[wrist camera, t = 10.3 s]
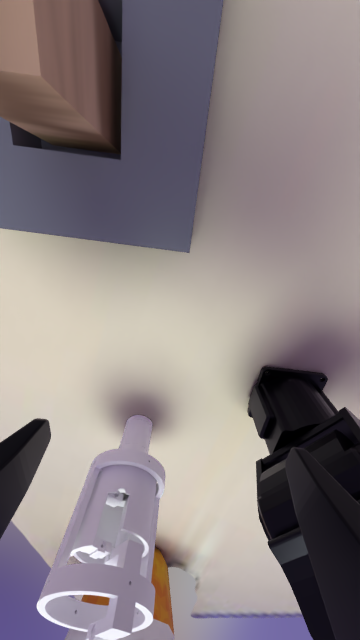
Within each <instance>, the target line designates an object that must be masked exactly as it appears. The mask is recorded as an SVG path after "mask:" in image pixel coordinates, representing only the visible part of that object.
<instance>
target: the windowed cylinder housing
mask: <svg viewBox="0 0 360 640" xmlns="http://www.w3.org/2000/svg"><path fill="white" fill-rule="evenodd" d="M152 427H153V424H152V422H151V420H150V419H149V418H147V417H145V416H142V415H134V416H131V417H130V418H129V419H128V420H127V423H126V426H125V430H124V433H123V437H122V440H121V443H120V446H119V449H113V450H109V451H106V452H103V453H101V454H100V455H98V456H97V457H96V458H95V459H94V460H93V462H92V464H91V467H90V470H89V472H88V475H87V478H86V481H85V484H84V486H83V489H82V491H81V494H80V497H79V499H78V502H77V504H76V507H75V509H74V512H73V515H72V517H71V520H70V522H69V525H68V527H67V530H66V533H65V535H64V538H63V540H62V543H61V546H60V548H59V551H58V553H57V556H56V558H55V561H54V564H53V566H52V569H51V571H50V574H49V575H48V578H47V580H46V583H45V585H44V588H43V590H42V593H41V595H40V598H39V600H38V603H37V610H38V611H39V613H40V614H41V615H42V616H43V617H45V618H46V619H48V620H50V621H52V622H54V623H56V624H58V625H61V626H64V627H67V628H70V629H74V630H79V631H84V632H87V636H86V640H116V639H119V638H123V637H125V636H128V635H130V634H132V632H135V631H139V630H142V629H144V628H146V627H148V626H149V625H150V624H151V623H152V621H153V614H154V602H155V587H154V586H153V584H152V583H151V579H152V569H153V559H154V549H155V539H156V529H157V519H158V509H159V499H160V498H161V496H162V495H163V493H164V486H165V470H164V468H163V466H162V465H161V464H160V462H159V461H158V460H156V459H155V458H154V457H152V456H150V455H149V454H148V450H149V444H150V438H151V432H152ZM157 482H158V483H157ZM156 483H157V484H156ZM70 556H74V557H75V558H76V559H77V560H79V561H80V562H82V563H78V564H70V565H67V563H68V560H69V557H70ZM67 595H96V596H103V597H109V598H110V600H109V605H108V606H105V605H96V604H90V603H86V602H82V601H79V600H76V599H73V598H71V597H69V596H67Z"/></svg>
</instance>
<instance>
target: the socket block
mask: <svg viewBox="0 0 360 640" xmlns="http://www.w3.org/2000/svg"><path fill="white" fill-rule="evenodd" d="M98 1H99V4H100V6H101V8H102V11H103V13H104V16H105V18H106V21H107V23H108V25H109V28H110V30H111V33H112V35H113V38H114V40H115V43H116V45H117V47H118V50H119V52H120V55H121V57H122V103H121V155H120V154H113V153H105V152H98V151H91V150H83V149H76V148H68V147H61V146H54V145H52V144H50V143H48V142H46V141H44V140H42V139H41V138H39V137H37V136H35V135H33V134H31V133H30V132H28V131H26V130H24V129H22V128H20V127H18V126H17V125H15V124H13V123H11V122H9V121H7V120H5V119H4V118H2V117H0V228H3V229H11V230H19V231H26V232H34V233H42V234H49V235H57V236H65V237H72V238H80V239H88V240H95V241H103V242H110V243H118V244H126V245H133V246H141V247H149V248H156V249H164V250H172V251H179V252H187V253H189V252H190V244H191V237H192V230H193V222H194V215H195V207H196V200H197V192H198V185H199V178H200V170H201V163H202V155H203V148H204V141H205V133H206V126H207V118H208V111H209V103H210V96H211V89H212V81H213V74H214V66H215V59H216V52H217V44H218V37H219V29H220V22H221V14H222V7H223V0H98Z"/></svg>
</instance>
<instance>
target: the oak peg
mask: <svg viewBox="0 0 360 640" xmlns="http://www.w3.org/2000/svg"><path fill="white" fill-rule="evenodd" d="M121 103H122V57H121V55H120V52H119V50H118V47H117V45H116V43H115V40H114V38H113V35H112V33H111V30H110V28H109V25H108V23H107V21H106V18H105V16H104V13H103V11H102V8H101V6H100V4H99V1H98V0H0V117H2V118H4V119H5V120H7V121H9V122H11V123H13V124H15V125H17V126H18V127H20V128H22V129H24V130H26V131H28V132H30V133H31V134H33V135H35V136H37V137H39V138H41V139H42V140H44V141H46V142H48V143H50V144H52V145H54V146H61V147H68V148H76V149H83V150H91V151H98V152H105V153H113V154H120V155H121Z"/></svg>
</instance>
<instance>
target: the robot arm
mask: <svg viewBox="0 0 360 640" xmlns="http://www.w3.org/2000/svg"><path fill="white" fill-rule="evenodd" d="M267 371H269V372H267ZM265 372H267V373H265ZM321 378H322V379H321ZM327 380H328V378H327V376H326V375H325V374H323V373H316V372H308V371H299V370H291V369H283V368H274V367H264V368H262V370H261V373H260V376H259V379H258V382H257V385H255V386H254V388H253V391H252V394H251V397H250V400H249V403H248V404H249V408H248V415H249V416H250V417H252V418H253V420H254V423H255V426H256V429H257V432H258V435H259V437H260V438H262V439H265V441H266V444H267V447H268V450H269V453H270V455H269V456H267V457H265V458H264V459H260V460H258V461H256V474H257V502H258V513H259V519H260V522H261V524H262V527H263V529H264V532H265V534H266V536H267V538H268V540H269V541H268V546H269V548H270V549H271V551H272V553H273V554H274V556H275V557H276V559H277V560H278V562H279V564H280V565H281V567H282V569H283V571H284V573H285V575H286V577H287V579H288V581H289V583H290V585H291V588H292V590H293V592H294V595H295V597H296V599H297V602H298V604H299V607H300V610H301V612H302V615H303V617H304V619H305V622H306V625H307V627H308V630H309V632H310V634H311V636H312V638H313V640H360V420H359V419H358V418H357V417H356V416H355V415H353V414H352V413H351V412H350V411H349V410H348V409H347V408H346V407H344V408H342V409H341V410H339V412H338V411H337V409H336V408H335V407H334V405H333V404H332V403H331V402H330V400H329V399H328V398H327V396H326V395H325V394H324V393H323V391H322V390H323V388H324V386H325V384H326V382H327ZM50 439H51V432H50V426H49V421H48V420H47V419H39V418H37V419H34V420H32V421H31V422H30V423H28V424H27V425H25V426H24V427H22V428H21V429H19V430H18V431H16V432H15V433H14V434H12V435H11V436H9V437H8V438H6V439H5V440H3V441H2V442H0V538H1V537H2V535H3V533H4V531H5V530H6V528H7V526H8V524H9V523H10V521H11V519H12V517H13V515H14V514H15V512H16V510H17V508H18V506H19V505H20V503H21V501H22V499H23V498H24V496H25V494H26V492H27V490H28V488H29V486H30V484H31V482H32V480H33V477H34V475H35V473H36V471H37V469H38V466H39V464H40V462H41V460H42V457H43V455H44V453H45V451H46V448H47V446H48V444H49V442H50Z"/></svg>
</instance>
